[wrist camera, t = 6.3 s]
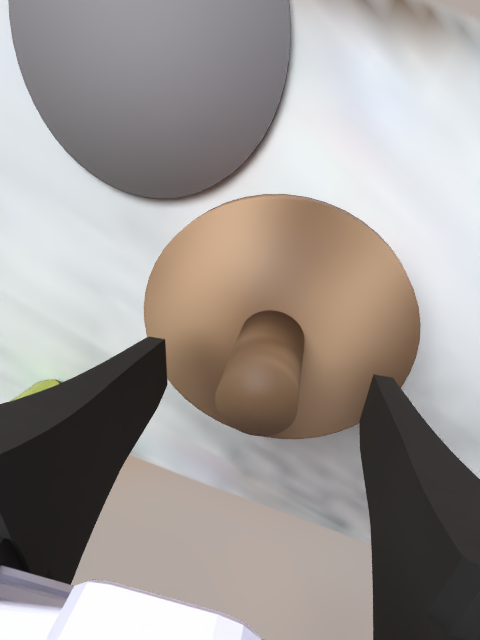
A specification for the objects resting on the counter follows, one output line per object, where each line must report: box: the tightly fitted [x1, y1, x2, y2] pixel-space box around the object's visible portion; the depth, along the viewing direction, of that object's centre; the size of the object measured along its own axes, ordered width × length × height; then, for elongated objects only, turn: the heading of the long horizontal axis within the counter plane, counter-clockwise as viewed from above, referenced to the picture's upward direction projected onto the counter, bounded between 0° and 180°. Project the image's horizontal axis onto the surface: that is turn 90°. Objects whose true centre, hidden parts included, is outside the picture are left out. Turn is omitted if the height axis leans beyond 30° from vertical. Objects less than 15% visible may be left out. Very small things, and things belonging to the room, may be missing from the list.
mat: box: [9, 0, 291, 199], centre depth 16 cm, size 12×12×1 cm
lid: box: [144, 194, 420, 439], centre depth 14 cm, size 11×11×5 cm
